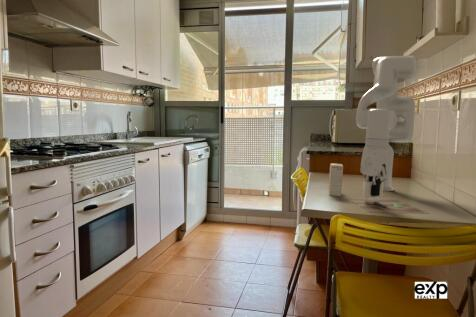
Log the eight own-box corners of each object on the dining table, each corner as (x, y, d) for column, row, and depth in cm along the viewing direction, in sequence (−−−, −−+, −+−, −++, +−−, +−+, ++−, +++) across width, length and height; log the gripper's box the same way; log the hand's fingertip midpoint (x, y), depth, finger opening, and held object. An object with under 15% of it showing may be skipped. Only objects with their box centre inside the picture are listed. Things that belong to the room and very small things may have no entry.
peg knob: (359, 200, 133) (361, 180, 132) (377, 201, 134) (379, 181, 133) (375, 209, 121) (377, 186, 120) (395, 209, 122) (397, 187, 121)
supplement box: (341, 199, 142) (343, 165, 140) (328, 198, 143) (331, 165, 141) (339, 195, 150) (342, 163, 148) (327, 194, 151) (329, 162, 149)
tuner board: (342, 199, 140) (342, 196, 140) (391, 200, 142) (391, 197, 142) (370, 216, 116) (370, 212, 116) (429, 217, 118) (429, 213, 118)
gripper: (354, 142, 135) (350, 190, 137) (381, 145, 120) (377, 199, 122) (371, 142, 137) (367, 190, 139) (401, 145, 122) (396, 199, 124)
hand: (372, 194), depth 131 cm, fingers closed on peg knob, 2 cm apart
